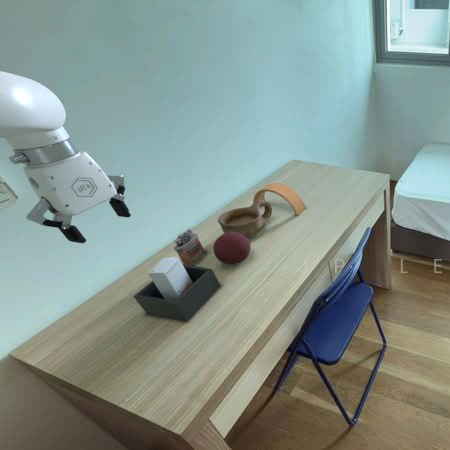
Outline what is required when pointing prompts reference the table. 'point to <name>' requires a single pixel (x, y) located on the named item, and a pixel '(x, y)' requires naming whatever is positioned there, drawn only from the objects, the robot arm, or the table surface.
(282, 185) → the arch
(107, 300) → the table surface
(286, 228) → the table surface
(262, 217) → the bowl
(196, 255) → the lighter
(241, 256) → the decorative ball
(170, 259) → the cosmetic box
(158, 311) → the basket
